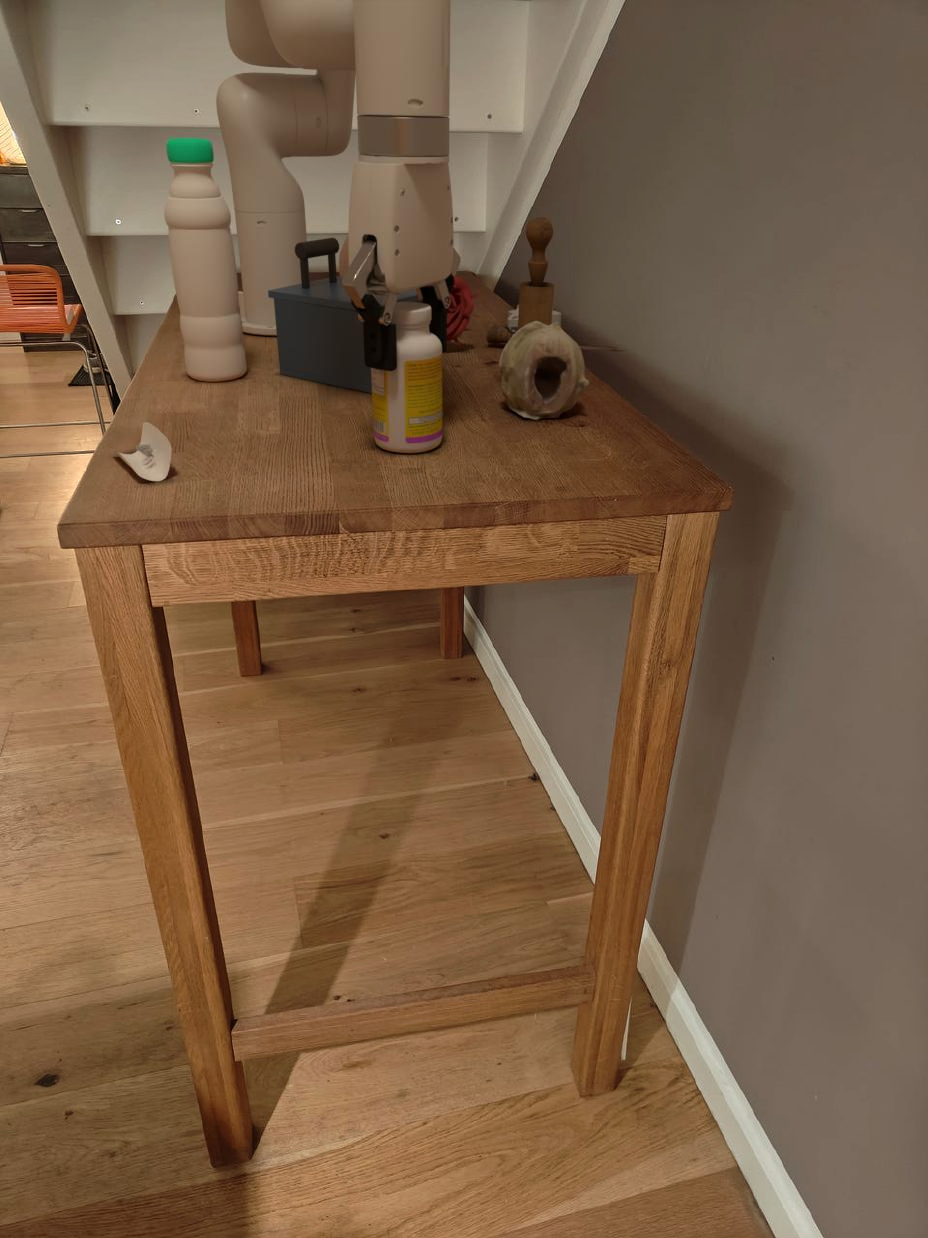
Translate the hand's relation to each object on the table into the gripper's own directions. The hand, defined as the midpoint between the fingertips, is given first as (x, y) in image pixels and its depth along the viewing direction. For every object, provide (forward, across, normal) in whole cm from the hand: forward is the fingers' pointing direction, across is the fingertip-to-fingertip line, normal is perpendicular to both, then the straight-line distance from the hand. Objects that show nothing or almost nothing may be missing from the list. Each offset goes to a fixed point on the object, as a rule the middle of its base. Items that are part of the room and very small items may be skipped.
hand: (406, 358), depth 81 cm
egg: (+8, -54, -46) cm, 71 cm away
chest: (+8, -18, -20) cm, 28 cm away
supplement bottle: (+8, 0, 0) cm, 8 cm away
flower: (+8, -42, -25) cm, 50 cm away
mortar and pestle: (+8, -27, -1) cm, 28 cm away
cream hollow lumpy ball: (+8, -17, +6) cm, 20 cm away
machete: (+8, -46, -7) cm, 47 cm away
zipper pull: (+8, -48, -13) cm, 50 cm away
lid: (-1, -18, -20) cm, 27 cm away
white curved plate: (+7, +18, -15) cm, 24 cm away
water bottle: (+8, -7, -33) cm, 35 cm away
